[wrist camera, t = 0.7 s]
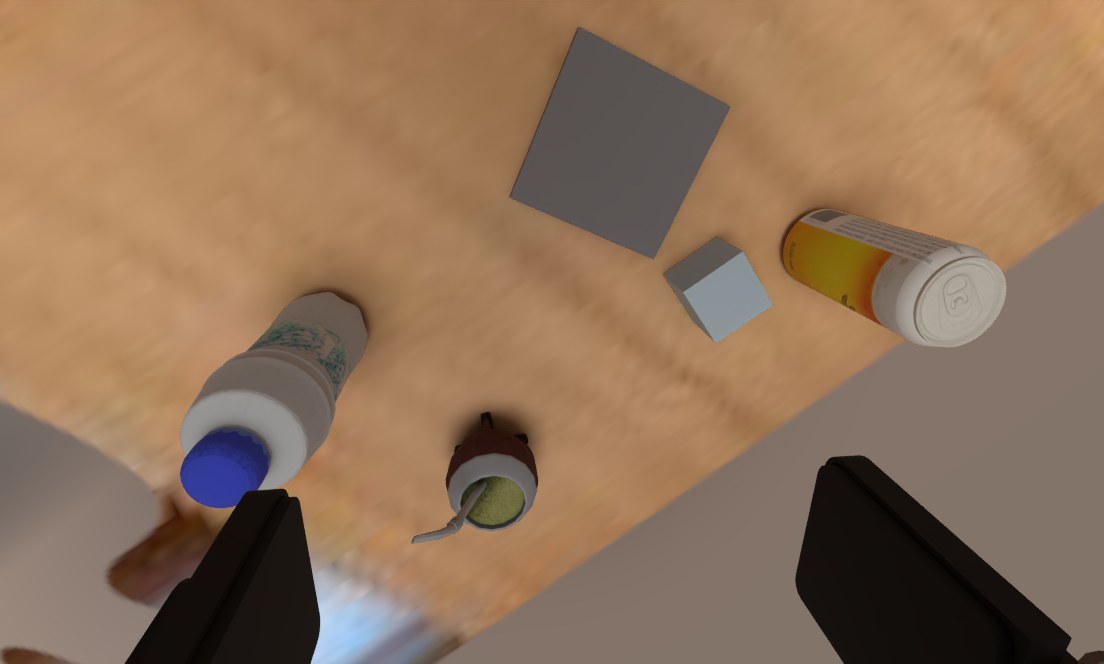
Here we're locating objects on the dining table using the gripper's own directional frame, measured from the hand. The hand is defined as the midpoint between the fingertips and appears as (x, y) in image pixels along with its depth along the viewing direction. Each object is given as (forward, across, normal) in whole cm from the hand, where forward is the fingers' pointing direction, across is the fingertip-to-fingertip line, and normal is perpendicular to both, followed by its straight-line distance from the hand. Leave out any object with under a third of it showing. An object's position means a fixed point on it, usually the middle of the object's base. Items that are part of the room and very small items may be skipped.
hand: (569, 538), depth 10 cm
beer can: (+34, -25, +2) cm, 42 cm away
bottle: (+34, +13, +8) cm, 38 cm away
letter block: (+34, -16, +5) cm, 38 cm away
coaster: (+34, -8, -5) cm, 35 cm away
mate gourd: (+34, +2, +19) cm, 39 cm away
